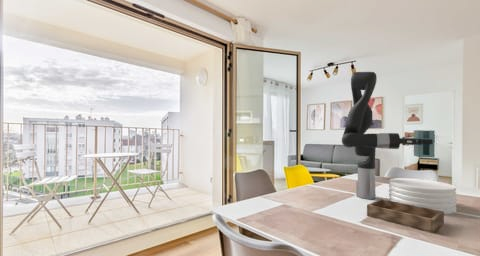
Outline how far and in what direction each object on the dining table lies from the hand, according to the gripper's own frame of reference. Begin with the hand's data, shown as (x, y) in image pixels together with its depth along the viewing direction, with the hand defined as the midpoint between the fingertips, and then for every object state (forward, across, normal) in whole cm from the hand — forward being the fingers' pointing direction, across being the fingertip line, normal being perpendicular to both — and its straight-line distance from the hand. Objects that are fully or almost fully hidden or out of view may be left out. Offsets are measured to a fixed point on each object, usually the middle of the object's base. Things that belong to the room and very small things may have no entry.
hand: (429, 141), depth 108 cm
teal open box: (-2, 0, +7) cm, 7 cm away
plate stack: (+2, +20, +34) cm, 40 cm away
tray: (-12, -9, +34) cm, 37 cm away
